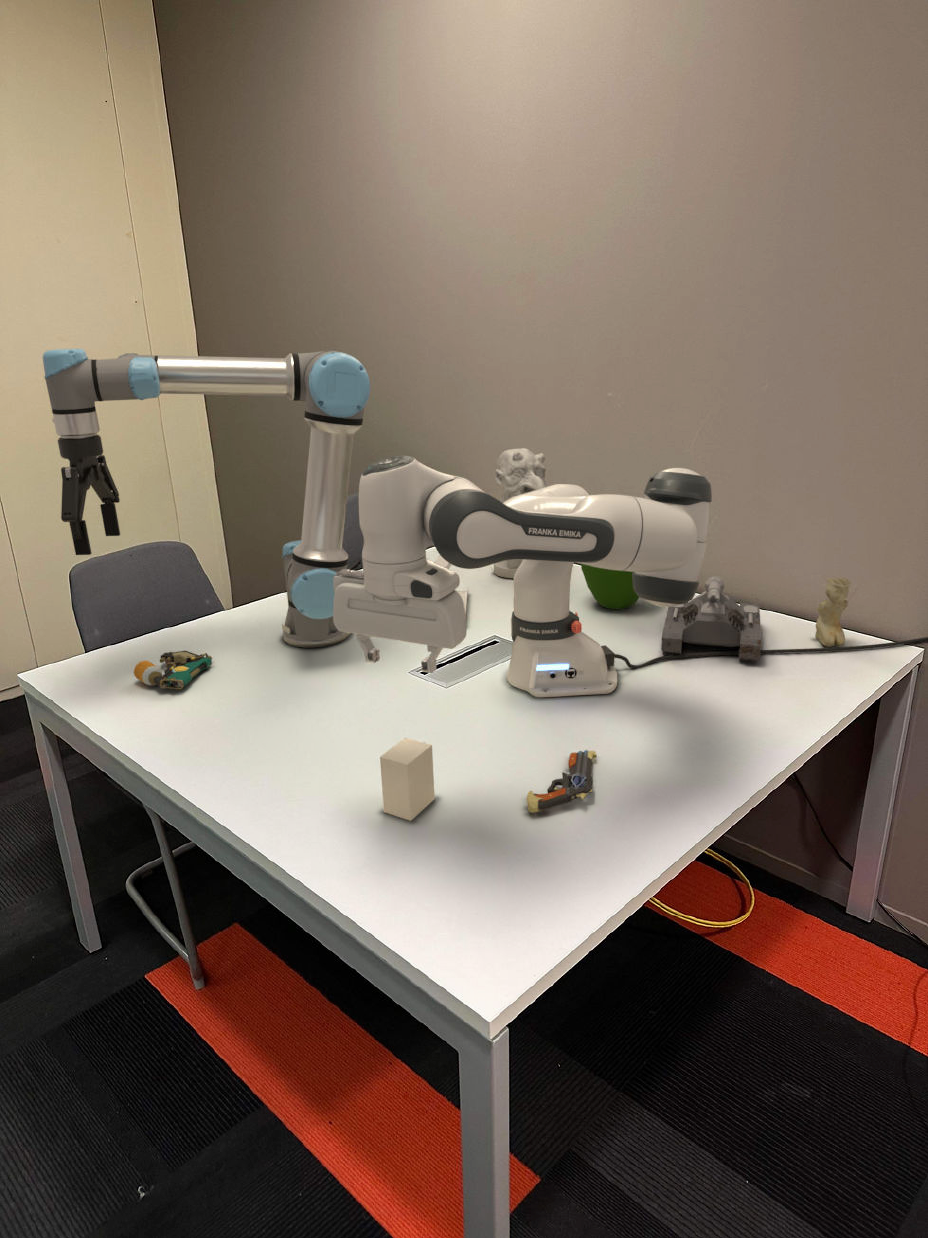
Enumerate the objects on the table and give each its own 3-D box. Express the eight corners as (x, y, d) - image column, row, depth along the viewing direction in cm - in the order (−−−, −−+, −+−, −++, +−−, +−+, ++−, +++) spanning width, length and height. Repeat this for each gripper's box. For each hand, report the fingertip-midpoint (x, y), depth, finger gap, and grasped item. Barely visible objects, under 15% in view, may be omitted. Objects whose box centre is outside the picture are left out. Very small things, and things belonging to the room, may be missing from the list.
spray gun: (177, 659, 191) (231, 671, 185) (120, 684, 176) (176, 698, 171) (176, 641, 190) (230, 653, 184) (118, 665, 175) (174, 678, 169)
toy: (669, 617, 205) (672, 557, 199) (757, 623, 199) (763, 562, 194) (660, 658, 182) (664, 591, 177) (759, 666, 177) (766, 598, 171)
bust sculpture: (503, 593, 225) (502, 460, 212) (483, 567, 247) (480, 445, 234) (562, 587, 228) (563, 456, 215) (536, 562, 250) (536, 441, 237)
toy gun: (524, 801, 128) (591, 800, 125) (537, 747, 145) (596, 745, 143) (526, 818, 128) (592, 816, 126) (538, 762, 146) (597, 759, 144)
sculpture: (821, 649, 184) (830, 583, 179) (808, 637, 191) (816, 573, 185) (848, 649, 184) (858, 582, 179) (834, 636, 191) (843, 572, 185)
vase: (599, 587, 227) (601, 497, 218) (668, 600, 216) (673, 505, 208) (562, 608, 212) (564, 513, 204) (634, 623, 202) (639, 523, 193)
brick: (383, 812, 131) (379, 756, 127) (408, 791, 136) (405, 737, 133) (410, 821, 128) (407, 764, 125) (434, 799, 134) (432, 744, 130)
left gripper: (88, 426, 172) (106, 528, 179) (25, 446, 149) (49, 563, 156) (124, 425, 172) (141, 528, 179) (67, 445, 148) (90, 562, 156)
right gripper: (320, 573, 121) (328, 663, 125) (449, 590, 112) (452, 685, 117) (344, 561, 126) (351, 648, 131) (470, 576, 117) (472, 668, 122)
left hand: (99, 544), depth 168 cm, fingers open, 13 cm apart
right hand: (400, 666), depth 124 cm, fingers open, 8 cm apart
